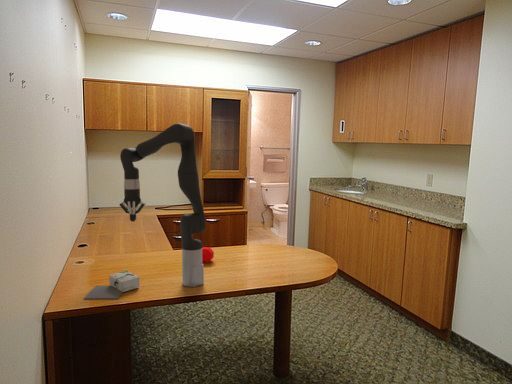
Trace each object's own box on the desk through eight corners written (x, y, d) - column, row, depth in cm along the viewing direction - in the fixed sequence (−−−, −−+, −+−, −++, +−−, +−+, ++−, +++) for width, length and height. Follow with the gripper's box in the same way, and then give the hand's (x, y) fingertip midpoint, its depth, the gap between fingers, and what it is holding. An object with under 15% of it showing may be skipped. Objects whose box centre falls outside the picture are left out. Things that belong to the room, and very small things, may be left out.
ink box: (126, 269, 174) (140, 276, 166) (126, 279, 174) (140, 287, 167) (108, 274, 167) (122, 282, 159) (109, 285, 168) (122, 292, 160)
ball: (214, 259, 208) (214, 246, 207) (210, 264, 200) (209, 250, 199) (201, 258, 209) (201, 245, 208) (196, 263, 202) (196, 249, 201)
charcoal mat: (127, 286, 168) (127, 285, 168) (117, 299, 155) (117, 297, 155) (96, 286, 167) (96, 285, 167) (83, 299, 154) (83, 298, 154)
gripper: (147, 186, 191) (147, 219, 193) (121, 186, 190) (122, 219, 192) (143, 188, 183) (144, 222, 186) (116, 188, 182) (117, 222, 185)
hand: (133, 221), depth 189 cm, fingers closed
